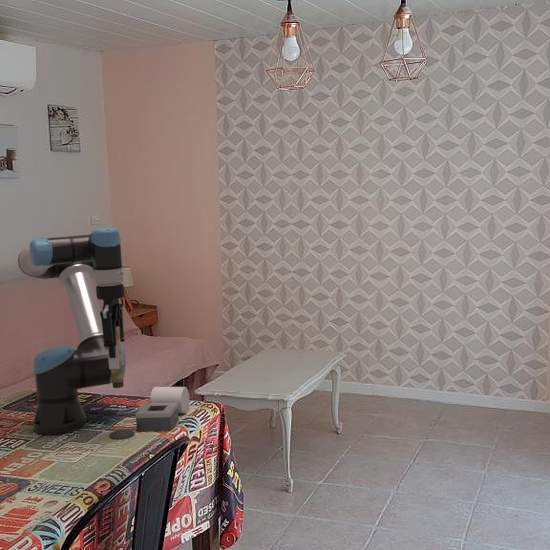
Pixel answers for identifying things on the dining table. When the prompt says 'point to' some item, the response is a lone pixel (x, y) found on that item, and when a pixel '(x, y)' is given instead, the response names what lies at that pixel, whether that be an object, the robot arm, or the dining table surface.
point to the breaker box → (157, 417)
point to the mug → (171, 397)
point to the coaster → (121, 434)
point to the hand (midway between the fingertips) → (116, 366)
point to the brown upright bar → (118, 373)
